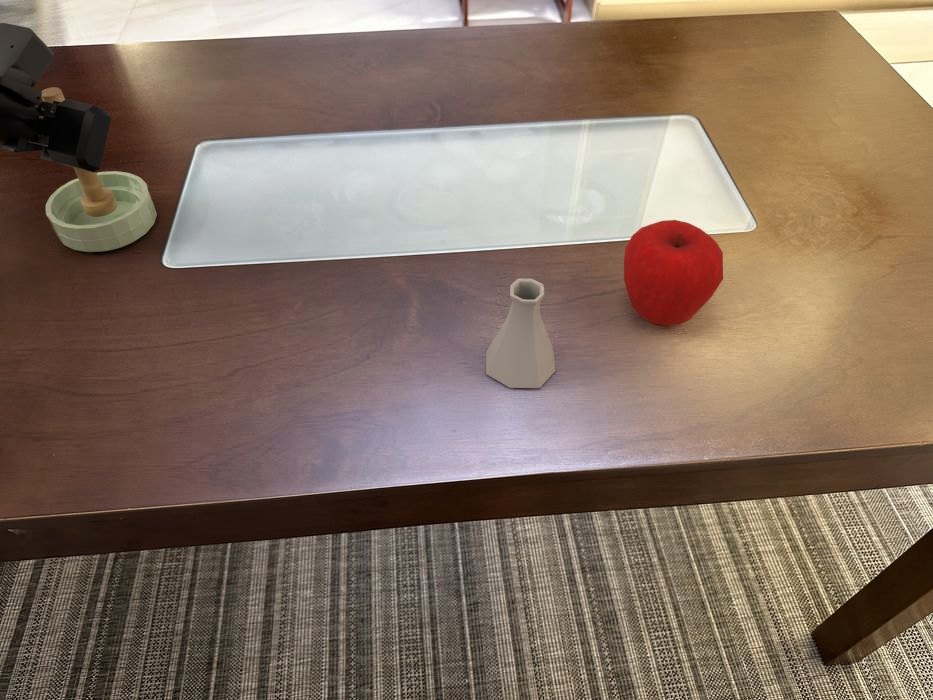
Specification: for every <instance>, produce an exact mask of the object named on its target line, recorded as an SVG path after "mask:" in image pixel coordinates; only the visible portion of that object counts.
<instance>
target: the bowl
mask: <svg viewBox="0 0 933 700" xmlns="http://www.w3.org/2000/svg"><path fill="white" fill-rule="evenodd" d="M96 173H97V175H98V178H99V180H100V182H101V185H102V187H103V189H108V190H110V191H112V192H113V194H114V197H115V199H116V202H117V208H116V209H115V210H114V211H113V212H112V213H110V214H108V215H105V216H101V217H92V216H89V215H87V214H86V212H85V210H84V208H83V206H82V204H81V197H82V196H83V195H84V194H85V192H84V190H83V188H82V186H81V184H80V181H79V179H78V177H77V178H75V179H71V180H70V181H68V182H66V183H64V184H63V185H61V186H60V187H58V188H57V189H56V190H55V191H54V192H53V193H52V194H51V195H50V196H49V197H48V200H47V201H46V204H45V215H46V218H47V219H48V221H49V223H50V225H51V227H52V229H53V231H54V233H55V235H56V236H57V239H58V240H59V241H60V242H61V243H62V245H64V246H66V247H68V248H69V249H72V250H74V251H78V252H84V253H85V252H86V253H96V252H97V253H98V252H99V253H100V252H109V251H113V250H118V249H121V248H124V247H126V246H128V245H130V244H132V243H134V242H136V241H137V240H139V239H140V238H141V237H143V236H144V235H146V234H147V233H149V231H150V230H151V228H152V227H153V226H154V225H155V223H156V220H157V216H158V212H157V209H156V205H155V203H154V199H153V197H152V194H151V192H150V190H149V186H148V184H147V182H145V181H144V180H143V179H142V178H141V177H140V176H137V175H136V174H133V173H130V172H124V171H117V170H112V171H100V172H96Z"/></svg>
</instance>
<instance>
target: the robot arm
mask: <svg viewBox="0 0 933 700" xmlns="http://www.w3.org/2000/svg"><path fill="white" fill-rule="evenodd" d="M54 59H55V53H54V51H53V50H52V49H51V48H50V47H49V46H48V45H47V44H46V43H45V42H44V41H43V39H42V38H40V37H39V36H38V35H37V34H36V32H34V31H33V29H31V28H30V27H27V26H22V25H17V24H13V23H7V22H0V150H3V151H8V152H11V153H26V152H40V151H41V155H40V159H41V160H44V161H48V162H52V163H56V164H60V165H62V166H63V165H64V166H66V167H70V168H73V169H74V168H77V169H81V170H85V171H89V172H93V173H95V172H96V173H97V171H98V170H100V169H101V166H102V162H103V158H104V153H105V149H106V144H107V139H108V135H109V131H110V126H111V122H112V115H111V114H110V112H109V110H107V109H104V108H102V107H100V106H97V105H95V104H91V103H87V102H83V101H77V100H73V99H69V98H65V100H64V101H62V102H58V101H53V103H49V102H44V101H43V100H42V97H41V96H42V92H41V91H42V90H41V91H40V90H38V89H36V88H35V86H36V85H37V84H38V82H39V81H40V79H41V77H42V76H43V74H44V72H45V70H46V69H47V67H48V66H49V65H50V64H52V63H53V61H54ZM41 100H42V101H41ZM36 105H37V106H36Z"/></svg>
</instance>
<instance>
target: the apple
mask: <svg viewBox="0 0 933 700" xmlns="http://www.w3.org/2000/svg"><path fill="white" fill-rule="evenodd" d="M723 280H724V252H723V250H722V249H721V247H720V245H719V244H718V242H717V241H716V240H715V239H714V238H713V237H712V236H711V235H709V234H708V233H707V232H706V231H704V230H703V229H701V228H700V227H698V226H695V225H694V224H692V223H689V222H686V221H681V220H678V219H667V220H660V221H656V222H654V223H651V224H648V225H645V226H642V227H640V228H639V229H638V230H637V231H636V232H634V234H633V233H632V235H631V237H630V238H629V240H628V242H627V244H626V246H625V247H624V255H623V281H624V285H625V288H626V292H627V295H628V298H629V302H630V305H631V308H632V309H633V310H634V312H636V314H637V315H638V316H639V317H641V318H642V319H644V320H646V321H648V322H650V323H651V324H655V325H659V326H674V325H675V326H677V325H681V324H683V323H686V322H688V321H690V320H691V319H692V318H693V317H694V316H695V315H696V314H697V313H698V312H699V311H700V310H701V309H702V308H703V306H705V305H706V303H708V302H709V300H710V299H711V298H713V296H714V294H715V292H717V290H718V288H719V287H720V285H721V283H722V282H723Z"/></svg>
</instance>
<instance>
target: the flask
mask: <svg viewBox="0 0 933 700" xmlns="http://www.w3.org/2000/svg"><path fill="white" fill-rule="evenodd" d="M509 295H510V297H509V298H510V300H511V304H510V307H509V311H508V314H507V316H506V318H505V320H504V321H503V323H502V325H501V327H500V328H499V330H498V332H497V334H496V336H495V337H494V339H493V340H492V342H491V343H490V345H489V346H488V348H487V349H486V352H485V374H486V375H487V376H488V377H491V378H492V379H494V380H496V381H498V382H499V383H501V384H503V385H504V386H506V387H508V388H510V389H540V388H542V386H543V385H544V384H545V383H546V382H547V381H548V380H549V379H550V378H551V376H553V374H554V373H555V372H556V359H555V350H554V347H553V344H552V342H551V339H550V337H549V334H548V332H547V330H546V326H545V324H544V321H543V317H542V314H541V301H542V299H544V297H545V286H544V283H541V282H540V281H537V280H535V279H534V278H517V279H516V280H515V281H514V282H513V283H512V284H510V286H509Z"/></svg>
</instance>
